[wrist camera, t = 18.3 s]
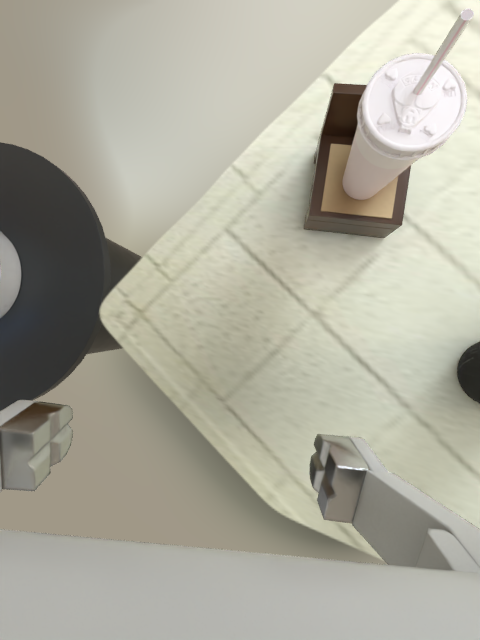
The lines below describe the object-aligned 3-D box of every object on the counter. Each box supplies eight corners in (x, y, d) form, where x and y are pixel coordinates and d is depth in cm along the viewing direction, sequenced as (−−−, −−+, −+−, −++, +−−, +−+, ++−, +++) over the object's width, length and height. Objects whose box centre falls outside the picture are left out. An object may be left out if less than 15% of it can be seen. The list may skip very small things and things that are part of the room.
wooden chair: (303, 229, 31) (317, 190, 22) (315, 151, 31) (334, 83, 22) (384, 238, 30) (433, 202, 21) (396, 158, 30) (450, 89, 21)
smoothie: (404, 157, 26) (557, -31, 12) (385, 220, 26) (515, 105, 12) (338, 142, 27) (414, -51, 13) (320, 205, 27) (375, 79, 13)
